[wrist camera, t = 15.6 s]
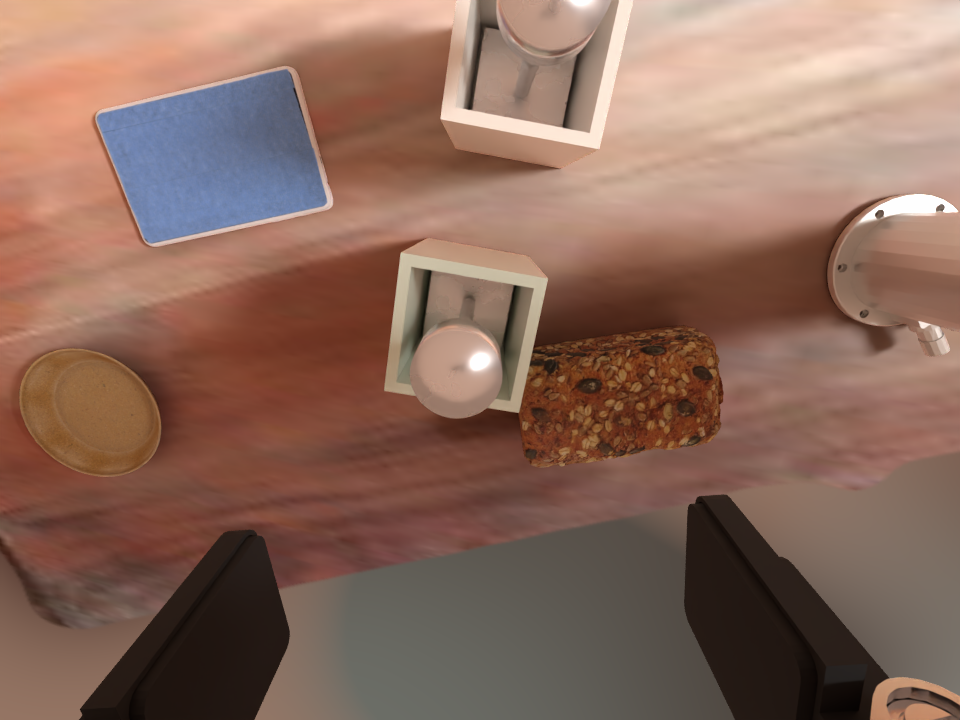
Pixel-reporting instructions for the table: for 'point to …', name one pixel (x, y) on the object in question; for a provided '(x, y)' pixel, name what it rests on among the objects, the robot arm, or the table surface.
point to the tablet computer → (217, 157)
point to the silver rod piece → (461, 345)
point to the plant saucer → (90, 412)
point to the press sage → (477, 265)
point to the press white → (526, 137)
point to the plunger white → (534, 57)
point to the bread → (620, 396)
